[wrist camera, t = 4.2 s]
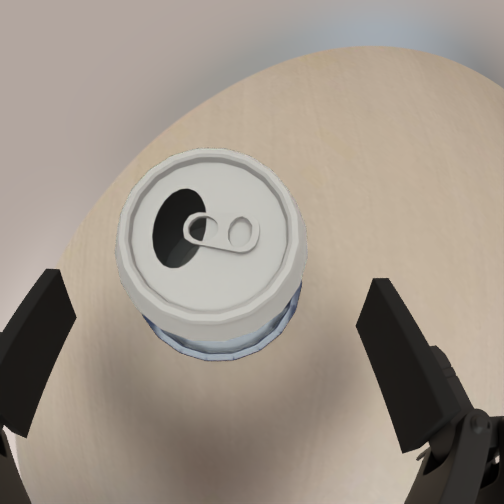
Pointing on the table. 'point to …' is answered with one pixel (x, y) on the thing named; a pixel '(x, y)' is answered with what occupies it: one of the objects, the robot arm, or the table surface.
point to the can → (210, 245)
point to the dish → (234, 346)
